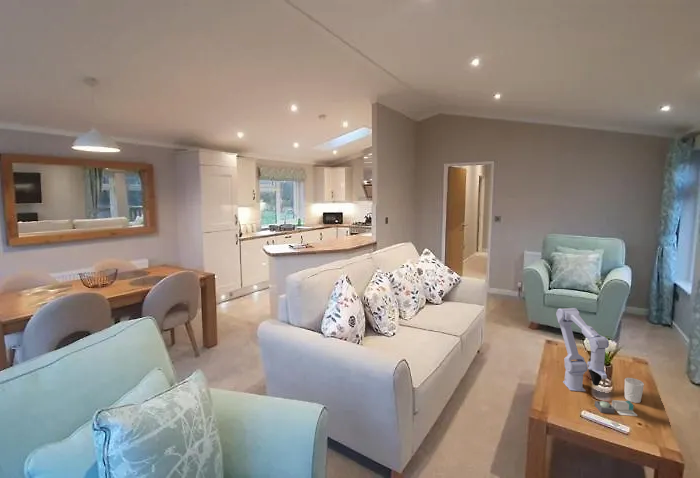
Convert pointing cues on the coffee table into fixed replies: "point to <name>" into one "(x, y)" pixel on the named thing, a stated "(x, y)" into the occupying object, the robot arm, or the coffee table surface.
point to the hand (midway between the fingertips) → (595, 384)
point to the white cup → (633, 390)
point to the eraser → (622, 405)
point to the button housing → (604, 408)
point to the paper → (626, 412)
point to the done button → (604, 404)
